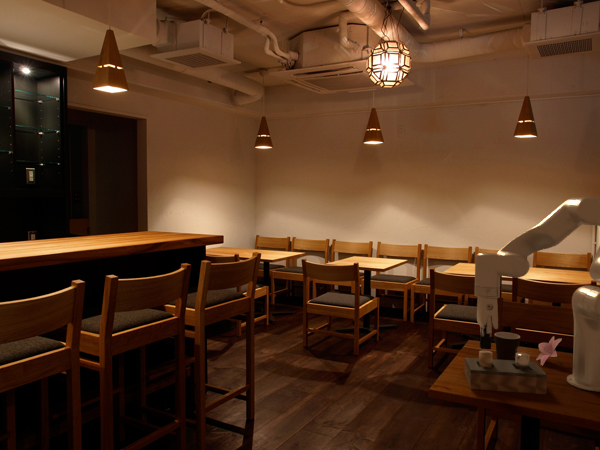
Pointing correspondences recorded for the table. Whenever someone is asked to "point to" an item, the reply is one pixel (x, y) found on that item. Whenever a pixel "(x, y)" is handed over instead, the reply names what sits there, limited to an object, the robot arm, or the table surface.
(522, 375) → the block
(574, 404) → the table surface
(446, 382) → the table surface
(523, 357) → the steel peg
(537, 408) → the table surface
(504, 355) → the coffee mug
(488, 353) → the maple peg
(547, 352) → the lily
